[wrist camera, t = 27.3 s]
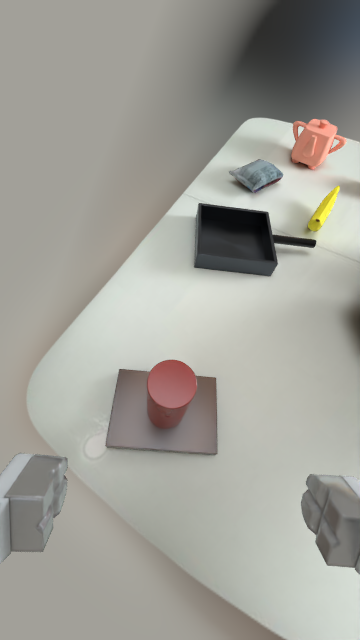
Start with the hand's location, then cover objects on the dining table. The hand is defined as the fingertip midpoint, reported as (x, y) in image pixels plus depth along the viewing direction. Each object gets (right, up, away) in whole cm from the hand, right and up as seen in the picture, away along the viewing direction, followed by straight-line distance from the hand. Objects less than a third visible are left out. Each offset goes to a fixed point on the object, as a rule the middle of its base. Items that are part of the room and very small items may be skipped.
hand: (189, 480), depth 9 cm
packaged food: (+19, +41, +61) cm, 75 cm away
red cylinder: (-2, -7, +27) cm, 28 cm away
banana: (+32, +28, +55) cm, 69 cm away
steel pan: (+15, +21, +48) cm, 54 cm away
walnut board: (-2, -7, +28) cm, 29 cm away
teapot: (+36, +52, +70) cm, 94 cm away
